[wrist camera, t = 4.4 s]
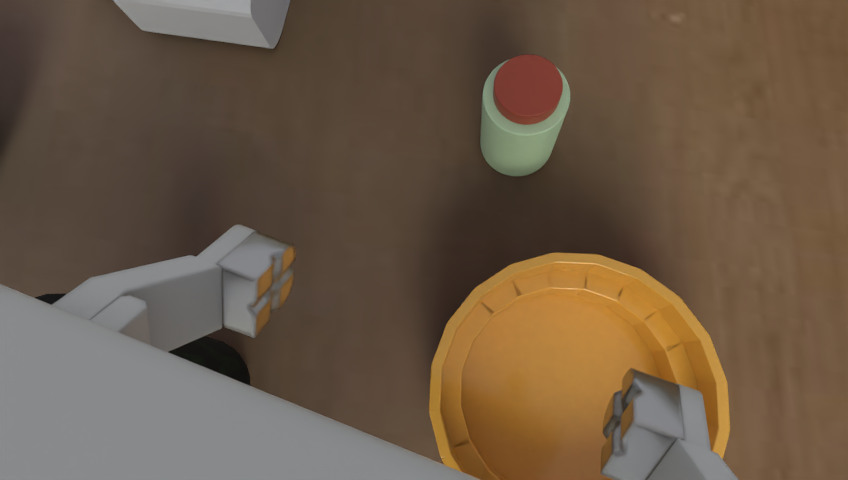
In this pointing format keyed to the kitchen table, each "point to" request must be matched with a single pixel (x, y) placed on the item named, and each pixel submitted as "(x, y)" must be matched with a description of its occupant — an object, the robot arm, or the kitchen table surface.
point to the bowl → (560, 365)
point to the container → (522, 114)
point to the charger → (212, 19)
